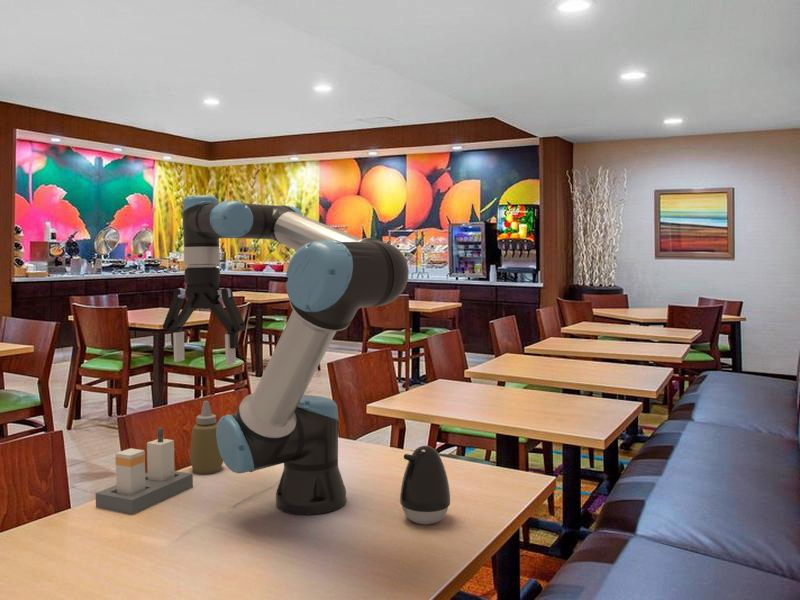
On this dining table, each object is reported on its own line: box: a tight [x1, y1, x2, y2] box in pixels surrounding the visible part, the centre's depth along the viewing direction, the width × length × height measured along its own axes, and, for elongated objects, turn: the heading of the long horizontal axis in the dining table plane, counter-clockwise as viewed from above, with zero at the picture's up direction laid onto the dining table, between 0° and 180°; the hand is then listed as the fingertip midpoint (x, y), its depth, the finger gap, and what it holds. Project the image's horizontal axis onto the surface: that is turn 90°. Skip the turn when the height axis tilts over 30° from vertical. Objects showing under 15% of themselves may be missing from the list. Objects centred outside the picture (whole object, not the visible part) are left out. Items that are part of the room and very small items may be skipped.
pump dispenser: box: [399, 445, 451, 525], centre depth 136 cm, size 10×10×15 cm
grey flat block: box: [95, 470, 194, 516], centre depth 146 cm, size 10×18×4 cm, turn 157°
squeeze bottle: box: [189, 400, 224, 475], centre depth 164 cm, size 8×8×18 cm
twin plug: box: [146, 427, 175, 482], centre depth 150 cm, size 4×4×14 cm
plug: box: [115, 447, 146, 496], centre depth 142 cm, size 4×4×11 cm
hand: (204, 362), depth 150 cm, fingers open, 13 cm apart
